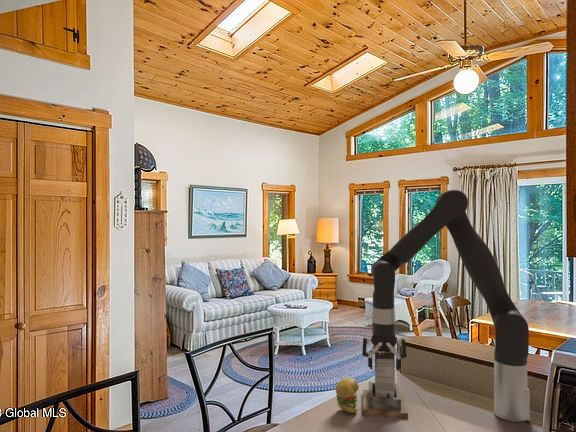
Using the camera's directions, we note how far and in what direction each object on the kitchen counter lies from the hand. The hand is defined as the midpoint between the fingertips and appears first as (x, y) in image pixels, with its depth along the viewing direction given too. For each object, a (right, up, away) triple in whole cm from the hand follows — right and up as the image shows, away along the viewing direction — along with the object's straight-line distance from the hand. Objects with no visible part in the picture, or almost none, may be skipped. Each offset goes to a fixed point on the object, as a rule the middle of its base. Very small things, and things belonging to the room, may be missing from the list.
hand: (384, 369), depth 143 cm
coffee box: (0, -11, 0) cm, 11 cm away
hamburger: (-13, -13, -5) cm, 19 cm away
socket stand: (0, -12, 0) cm, 12 cm away
